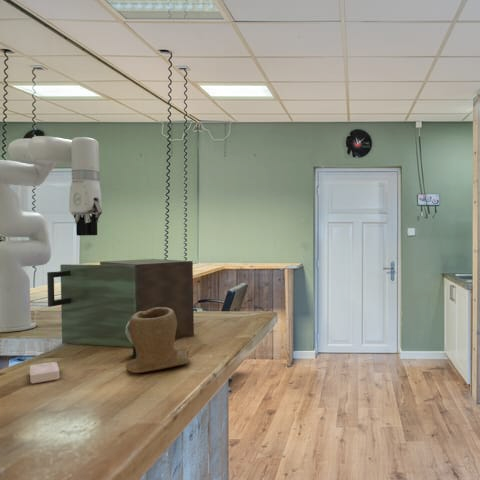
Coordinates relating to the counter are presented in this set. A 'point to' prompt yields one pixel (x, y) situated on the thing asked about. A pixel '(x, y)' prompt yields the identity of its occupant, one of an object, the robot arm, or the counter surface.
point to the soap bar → (44, 372)
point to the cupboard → (165, 289)
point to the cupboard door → (95, 303)
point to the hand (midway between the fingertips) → (86, 234)
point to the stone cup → (155, 341)
